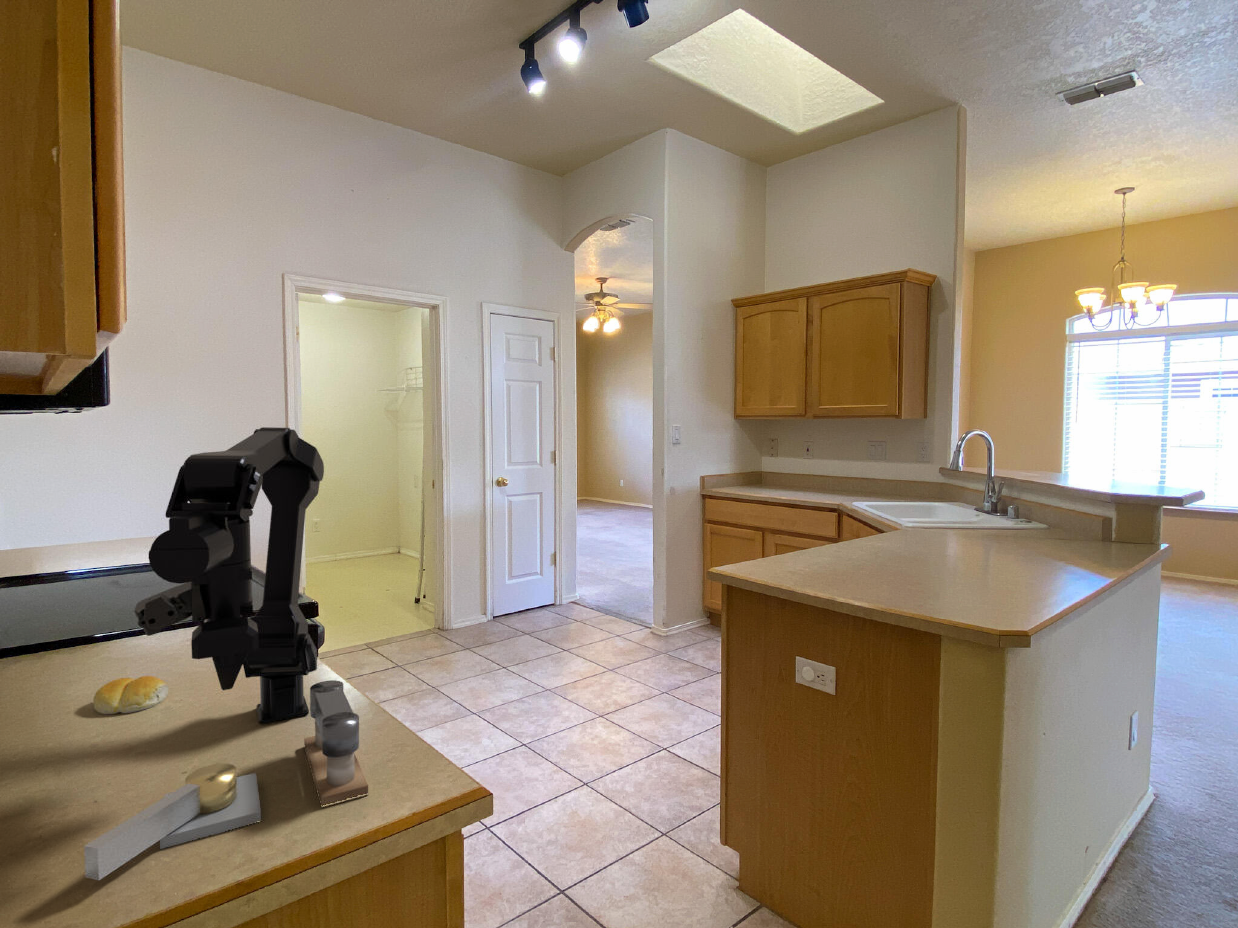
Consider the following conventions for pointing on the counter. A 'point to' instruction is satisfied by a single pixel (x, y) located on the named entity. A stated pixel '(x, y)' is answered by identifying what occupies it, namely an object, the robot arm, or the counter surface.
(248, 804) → the plate
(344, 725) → the grey knobbed rod
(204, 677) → the counter surface
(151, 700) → the bread roll
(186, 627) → the counter surface
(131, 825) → the lever switch
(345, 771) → the peg rack
